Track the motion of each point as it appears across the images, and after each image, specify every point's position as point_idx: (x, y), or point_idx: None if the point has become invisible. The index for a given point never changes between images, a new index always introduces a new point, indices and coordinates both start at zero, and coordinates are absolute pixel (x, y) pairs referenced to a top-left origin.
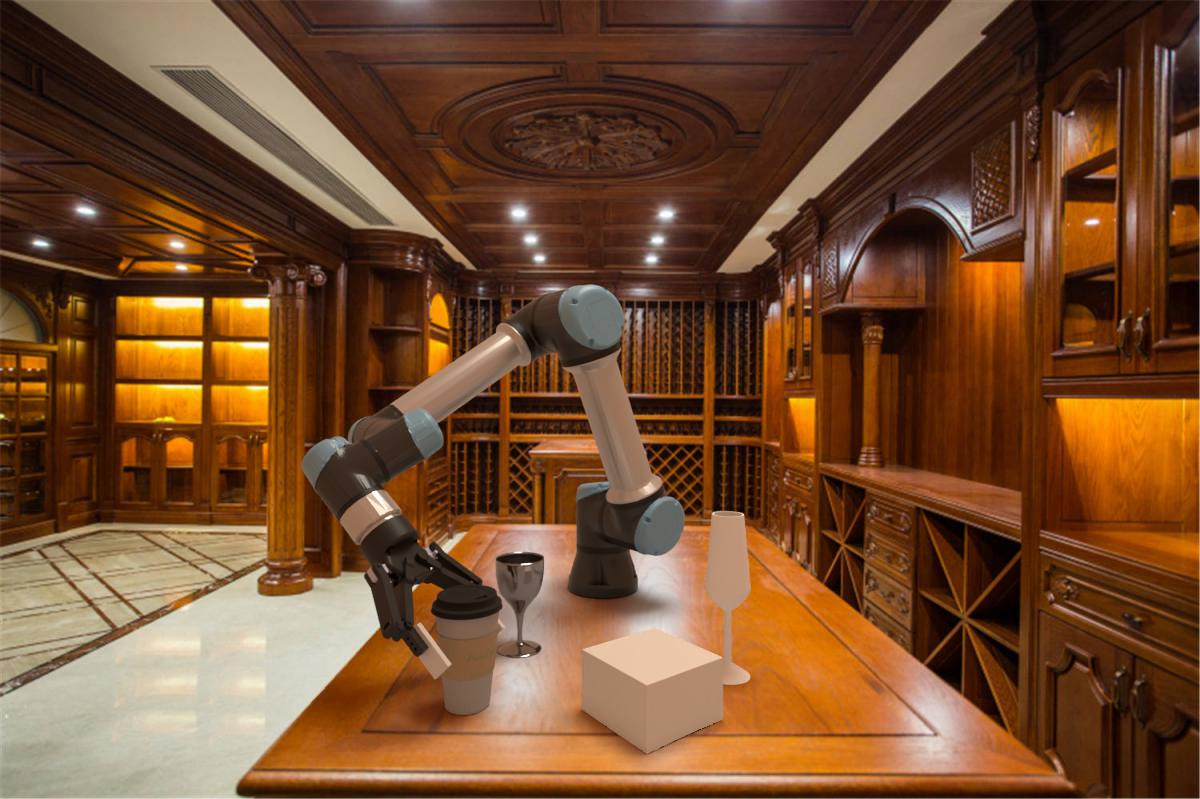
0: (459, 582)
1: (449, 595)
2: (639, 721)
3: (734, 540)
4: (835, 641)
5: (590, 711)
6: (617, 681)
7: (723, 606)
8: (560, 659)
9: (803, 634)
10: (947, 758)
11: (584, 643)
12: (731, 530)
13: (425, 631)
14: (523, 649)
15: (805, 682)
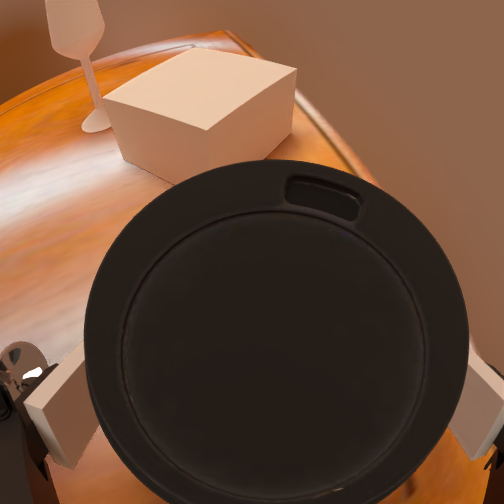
0: (31, 490)
1: (365, 409)
2: (286, 113)
3: None
4: (50, 90)
5: None
6: (265, 103)
7: (93, 48)
8: (50, 295)
9: (32, 106)
10: (219, 42)
11: (2, 278)
12: None
13: (489, 377)
14: (28, 368)
15: (121, 83)
